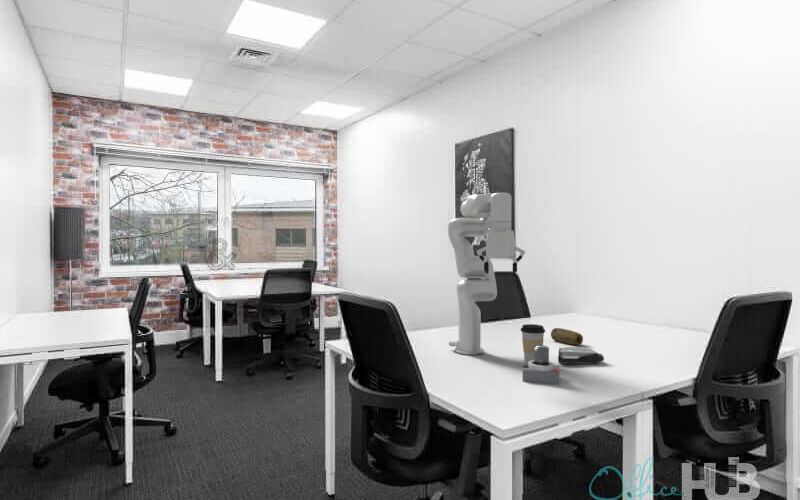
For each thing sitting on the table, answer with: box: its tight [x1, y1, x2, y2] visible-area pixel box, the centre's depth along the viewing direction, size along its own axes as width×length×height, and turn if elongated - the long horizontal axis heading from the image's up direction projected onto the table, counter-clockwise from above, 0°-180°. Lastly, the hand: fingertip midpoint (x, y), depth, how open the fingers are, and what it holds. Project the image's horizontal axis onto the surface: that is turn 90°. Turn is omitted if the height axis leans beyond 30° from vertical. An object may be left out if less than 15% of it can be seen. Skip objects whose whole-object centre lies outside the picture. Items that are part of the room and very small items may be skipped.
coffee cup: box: [520, 323, 546, 363], centre depth 186 cm, size 9×9×15 cm
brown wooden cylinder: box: [550, 327, 584, 346], centre depth 226 cm, size 15×7×7 cm, turn 36°
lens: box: [534, 344, 550, 366], centre depth 165 cm, size 5×5×7 cm
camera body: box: [522, 360, 560, 385], centre depth 165 cm, size 12×9×6 cm
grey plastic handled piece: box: [557, 346, 605, 365], centre depth 192 cm, size 16×20×5 cm
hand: (500, 273), depth 173 cm, fingers open, 9 cm apart
